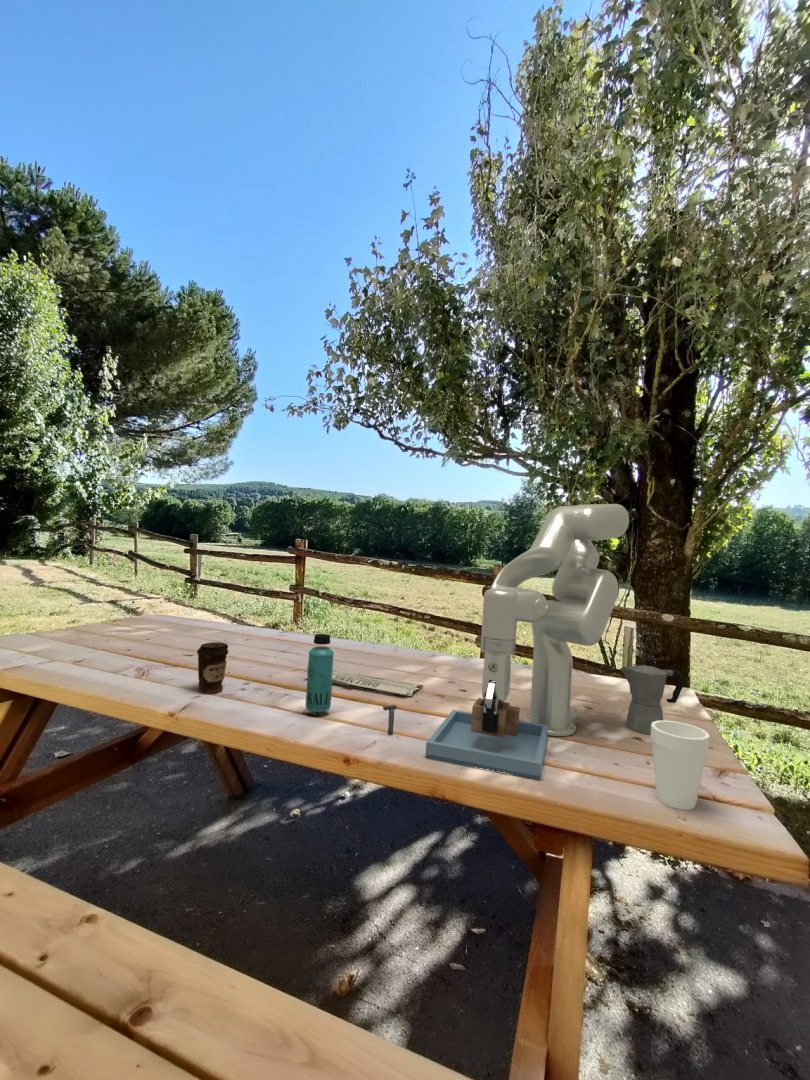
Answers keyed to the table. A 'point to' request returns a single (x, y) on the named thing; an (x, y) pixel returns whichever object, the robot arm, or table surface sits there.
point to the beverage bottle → (319, 675)
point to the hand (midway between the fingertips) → (492, 725)
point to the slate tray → (489, 746)
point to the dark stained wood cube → (506, 719)
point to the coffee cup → (211, 666)
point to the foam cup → (678, 762)
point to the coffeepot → (648, 694)
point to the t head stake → (390, 717)
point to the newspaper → (374, 683)
